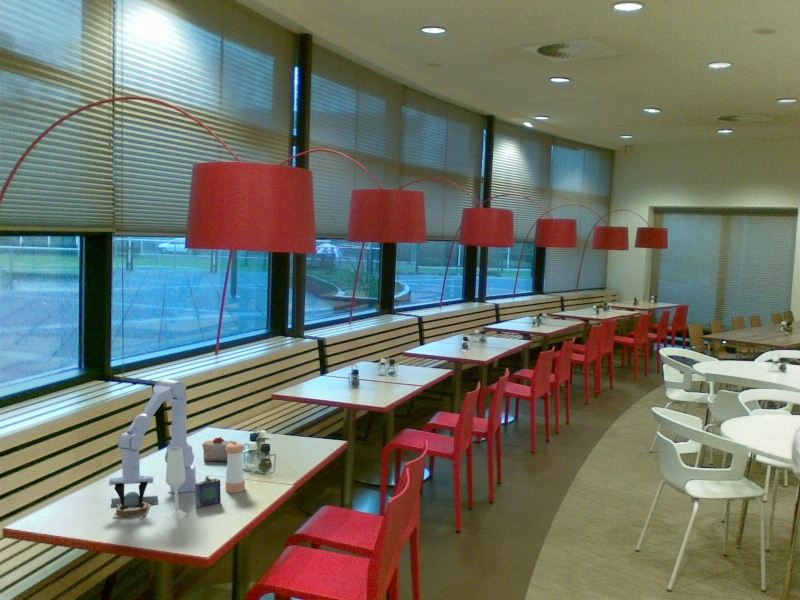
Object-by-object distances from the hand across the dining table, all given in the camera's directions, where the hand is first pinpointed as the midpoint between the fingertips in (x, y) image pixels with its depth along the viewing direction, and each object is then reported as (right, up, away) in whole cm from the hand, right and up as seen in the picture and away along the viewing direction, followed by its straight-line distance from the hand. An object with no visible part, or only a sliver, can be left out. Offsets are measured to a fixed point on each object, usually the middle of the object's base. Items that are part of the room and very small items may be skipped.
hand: (132, 503), depth 253 cm
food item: (+16, +2, +58) cm, 60 cm away
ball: (0, +1, 0) cm, 1 cm away
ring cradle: (0, -3, 0) cm, 3 cm away
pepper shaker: (+32, -1, +22) cm, 39 cm away
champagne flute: (+17, -4, -3) cm, 17 cm away
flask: (+25, -3, +7) cm, 26 cm away
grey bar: (-2, -2, +8) cm, 8 cm away
